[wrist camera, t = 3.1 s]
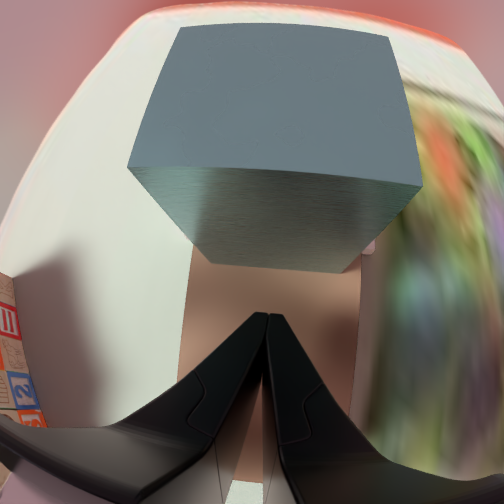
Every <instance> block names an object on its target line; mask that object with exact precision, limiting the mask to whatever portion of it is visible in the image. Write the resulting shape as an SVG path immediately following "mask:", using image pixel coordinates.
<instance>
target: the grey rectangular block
mask: <svg viewBox="0 0 504 504" xmlns="http://www.w3.org/2000/svg"><path fill="white" fill-rule="evenodd" d="M127 168H128V169H129V170H130V172H131V173H132V174H133V175H134V176H135V177H136V179H137V180H138V181H139V182H140V183H141V185H142V186H143V187H144V188H145V189H146V190H147V192H148V193H149V194H150V195H151V196H152V197H153V199H154V200H155V201H156V202H157V203H158V204H159V205H160V207H161V208H162V209H163V210H164V211H165V212H166V213H167V215H168V216H169V217H170V218H171V219H172V220H173V221H174V223H175V224H176V225H177V226H178V227H179V228H180V229H181V231H182V232H183V233H184V234H185V235H186V236H187V237H188V238H189V240H190V241H191V242H192V243H193V244H194V245H195V246H196V247H197V249H198V250H199V251H200V252H201V253H202V254H203V255H204V256H205V257H206V259H207V260H208V261H209V262H210V263H212V264H223V265H235V266H247V267H259V268H271V269H283V270H296V271H308V272H321V273H335V274H340V273H341V272H342V271H343V270H344V269H345V268H346V267H347V266H348V265H349V264H350V263H351V262H352V261H353V260H354V259H355V258H356V257H357V256H358V255H359V254H360V253H361V252H362V251H363V250H364V249H365V248H366V247H367V246H368V245H369V244H370V243H371V242H372V241H373V240H374V239H375V238H376V237H377V236H378V235H379V234H380V233H381V232H382V231H383V230H384V229H385V228H386V226H387V225H388V224H389V223H390V222H391V221H392V220H393V219H394V218H395V217H396V216H397V215H398V214H399V213H400V211H401V210H402V209H403V208H404V207H405V206H406V205H407V204H408V203H409V202H410V200H411V199H412V198H413V197H414V196H415V195H416V194H417V193H418V192H419V190H420V189H421V188H422V187H423V183H422V176H421V169H420V163H419V157H418V151H417V145H416V140H415V135H414V130H413V125H412V120H411V116H410V111H409V107H408V103H407V99H406V95H405V91H404V87H403V83H402V80H401V76H400V73H399V69H398V66H397V63H396V59H395V56H394V53H393V50H392V47H391V44H390V41H389V38H388V37H386V36H382V35H377V34H371V33H366V32H360V31H354V30H347V29H340V28H332V27H323V26H312V25H299V24H280V23H233V24H214V25H201V26H190V27H181V28H180V30H179V32H178V34H177V36H176V38H175V40H174V43H173V45H172V47H171V49H170V51H169V54H168V56H167V58H166V60H165V63H164V65H163V67H162V70H161V72H160V75H159V77H158V80H157V82H156V84H155V87H154V90H153V92H152V95H151V97H150V100H149V103H148V105H147V108H146V111H145V114H144V116H143V119H142V122H141V125H140V128H139V131H138V134H137V137H136V140H135V143H134V146H133V149H132V152H131V156H130V159H129V162H128V166H127Z"/></svg>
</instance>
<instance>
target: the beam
mask: <svg viewBox="0 0 504 504" xmlns="http://www.w3.org/2000/svg"><path fill="white" fill-rule="evenodd" d="M360 289H361V253H360V254H359V255H358V256H357V257H356V258H355V259H354V260H353V261H352V262H351V263H350V264H349V265H348V266H347V267H346V268H345V269H344V270H343V271H342V272H341V273H340V274H335V273H321V272H308V271H296V270H283V269H271V268H259V267H247V266H235V265H223V264H212V263H210V262H209V261H208V260H207V259H206V257H205V256H204V255H203V254H202V253H201V252H200V251H199V250H198V249H197V247H196V246H195V245H193V251H192V258H191V265H190V272H189V279H188V287H187V294H186V302H185V310H184V318H183V327H182V335H181V345H180V354H179V364H178V375H177V382H178V381H180V380H181V379H182V378H183V377H184V376H185V375H187V374H188V373H189V372H190V371H191V370H193V369H194V368H195V367H196V366H197V365H198V364H199V363H200V362H201V361H202V360H203V359H205V358H206V357H207V356H208V355H209V354H210V353H211V352H212V351H213V350H214V349H215V348H217V347H218V346H219V345H220V344H221V343H222V342H223V341H224V340H225V339H226V338H227V337H228V336H229V335H231V334H232V333H233V332H234V331H235V330H236V329H237V328H238V327H239V326H240V325H241V324H242V323H243V322H244V321H245V320H246V319H248V318H249V317H250V316H251V315H252V314H253V313H254V312H266V313H268V315H269V314H270V313H279V314H283V315H284V317H285V318H286V320H287V322H288V323H289V325H290V327H291V328H292V330H293V332H294V333H295V335H296V337H297V338H298V340H299V342H300V343H301V345H302V346H303V348H304V350H305V351H306V353H307V355H308V356H309V358H310V360H311V361H312V363H313V365H314V366H315V368H316V370H317V371H318V373H319V374H320V376H321V378H322V379H323V381H324V383H325V384H326V386H327V387H328V389H329V391H330V392H331V394H332V395H333V397H334V398H335V400H336V401H337V403H338V404H339V406H340V407H341V408H342V410H343V411H344V412H345V413H346V415H347V416H349V409H350V402H351V395H352V387H353V379H354V370H355V360H356V350H357V338H358V325H359V310H360ZM233 480H238V481H246V482H255V483H263V443H262V380H261V385H260V389H259V393H258V396H257V400H256V403H255V407H254V410H253V414H252V417H251V421H250V424H249V428H248V431H247V434H246V438H245V441H244V444H243V448H242V451H241V454H240V457H239V461H238V464H237V467H236V470H235V474H234V477H233Z"/></svg>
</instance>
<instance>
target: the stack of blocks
mask: <svg viewBox="0 0 504 504" xmlns="http://www.w3.org/2000/svg"><path fill="white" fill-rule="evenodd" d="M21 340H22V338H21V333H20V328H19V322H18V316H17V310H16V303H15V295H14V287H13V279H12V278H11V277H9V276H7V275H5V274H3V273H1V272H0V413H1V414H3V415H4V416H6V417H8V418H9V419H11V420H13V421H15V422H17V423H20V424H23V425H28V426H33V427H47V425H46V422H45V419H44V417H43V414H42V411H41V410H40V406H39V403H38V400H37V397H36V394H35V391H34V388H33V384H32V381H31V377H30V375H29V370H28V366H27V363H26V358H25V354H24V350H23V345H22V341H21ZM9 473H10V471H9V470H8V469H7V468H6V467H5V466H4V465H3V464H2V463H1V462H0V489H1V487H2V485H3V484H4V482H5V480H6V479H7V477H8V475H9Z"/></svg>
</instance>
